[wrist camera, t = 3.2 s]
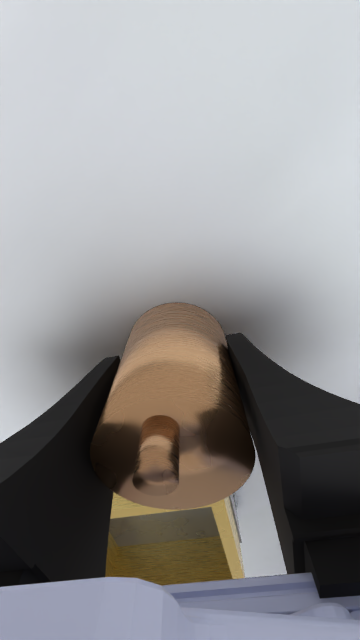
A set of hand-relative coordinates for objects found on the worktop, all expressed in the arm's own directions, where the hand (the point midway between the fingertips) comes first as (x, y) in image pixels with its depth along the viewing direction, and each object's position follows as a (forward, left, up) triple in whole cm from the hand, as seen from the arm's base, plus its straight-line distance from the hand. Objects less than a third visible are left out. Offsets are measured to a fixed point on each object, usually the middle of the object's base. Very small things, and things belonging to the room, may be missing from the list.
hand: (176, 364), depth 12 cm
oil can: (0, 0, -1) cm, 1 cm away
